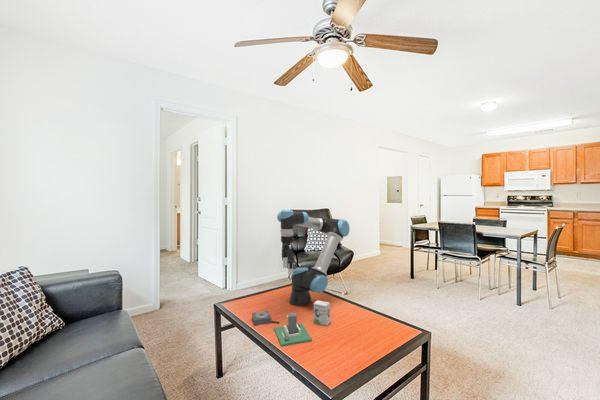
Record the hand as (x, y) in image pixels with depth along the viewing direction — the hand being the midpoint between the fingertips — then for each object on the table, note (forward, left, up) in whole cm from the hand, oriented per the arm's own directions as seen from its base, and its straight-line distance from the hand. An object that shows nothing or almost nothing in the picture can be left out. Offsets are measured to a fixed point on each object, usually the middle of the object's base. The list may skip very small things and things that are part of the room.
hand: (287, 270), depth 167 cm
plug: (+3, +20, -28) cm, 34 cm away
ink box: (-17, +12, -29) cm, 36 cm away
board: (+3, +20, -29) cm, 35 cm away
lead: (+9, +4, -29) cm, 30 cm away
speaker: (+16, -2, -29) cm, 33 cm away
